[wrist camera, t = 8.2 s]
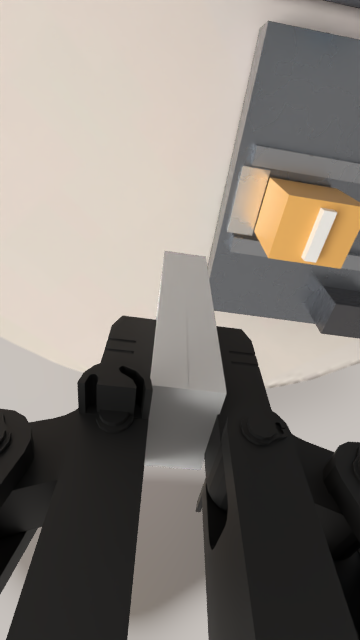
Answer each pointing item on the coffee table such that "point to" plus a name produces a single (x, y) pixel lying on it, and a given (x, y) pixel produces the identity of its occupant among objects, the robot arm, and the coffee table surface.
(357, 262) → the panel
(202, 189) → the coffee table surface
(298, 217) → the slider
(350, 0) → the grey cylinders
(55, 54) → the coffee table surface
